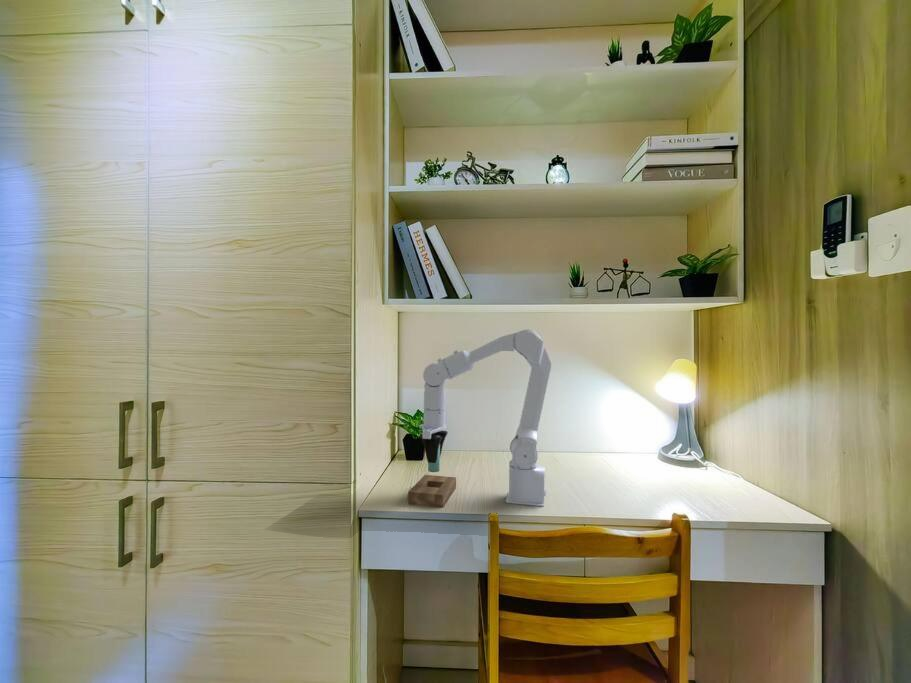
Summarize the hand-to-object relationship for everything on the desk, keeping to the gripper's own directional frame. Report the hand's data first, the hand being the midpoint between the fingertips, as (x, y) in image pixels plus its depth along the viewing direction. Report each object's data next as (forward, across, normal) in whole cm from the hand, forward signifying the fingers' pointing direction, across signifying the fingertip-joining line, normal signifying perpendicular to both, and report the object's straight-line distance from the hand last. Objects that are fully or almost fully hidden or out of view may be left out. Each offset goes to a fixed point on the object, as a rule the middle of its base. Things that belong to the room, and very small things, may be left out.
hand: (433, 460), depth 111 cm
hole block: (+9, 0, 0) cm, 9 cm away
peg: (+3, 0, 0) cm, 3 cm away
